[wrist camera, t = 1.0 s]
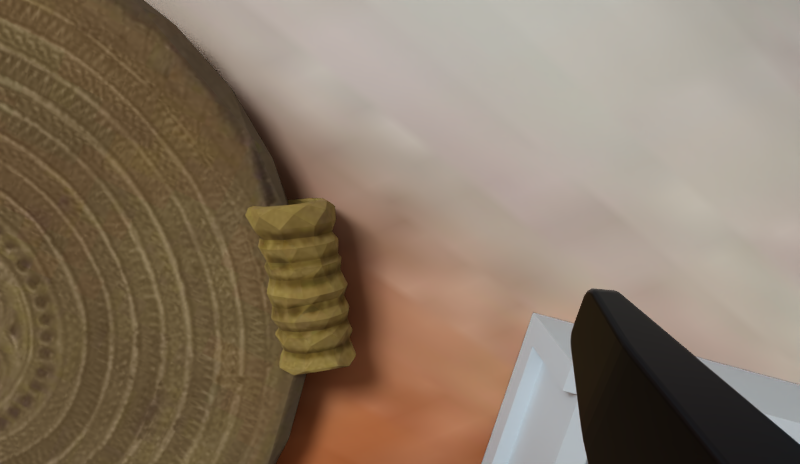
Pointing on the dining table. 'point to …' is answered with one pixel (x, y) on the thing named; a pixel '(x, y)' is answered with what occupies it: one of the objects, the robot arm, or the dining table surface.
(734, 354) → the dining table surface
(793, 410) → the rack
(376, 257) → the dining table surface
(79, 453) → the decorative disc
